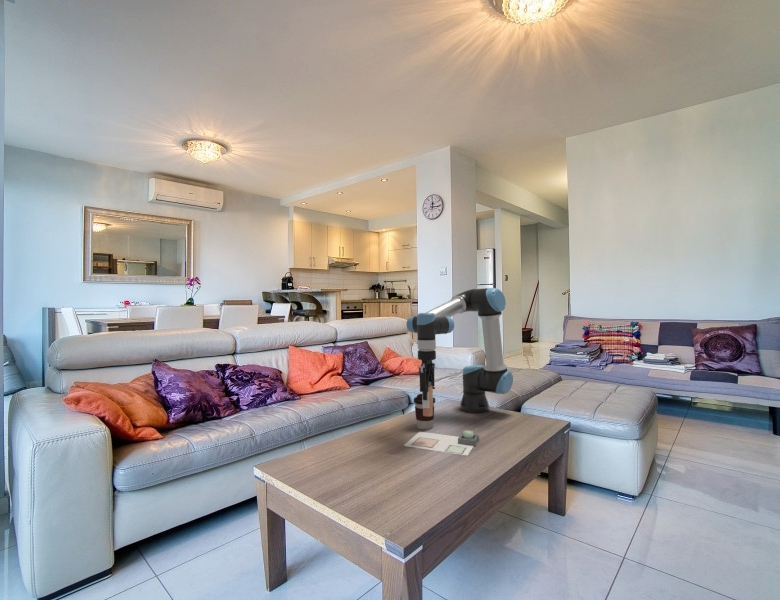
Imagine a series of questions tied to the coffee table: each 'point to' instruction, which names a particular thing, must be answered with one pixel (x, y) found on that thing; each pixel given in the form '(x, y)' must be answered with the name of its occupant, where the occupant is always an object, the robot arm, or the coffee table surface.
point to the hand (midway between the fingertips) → (427, 406)
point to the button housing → (468, 440)
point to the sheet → (439, 443)
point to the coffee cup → (422, 421)
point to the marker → (429, 410)
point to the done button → (468, 434)
